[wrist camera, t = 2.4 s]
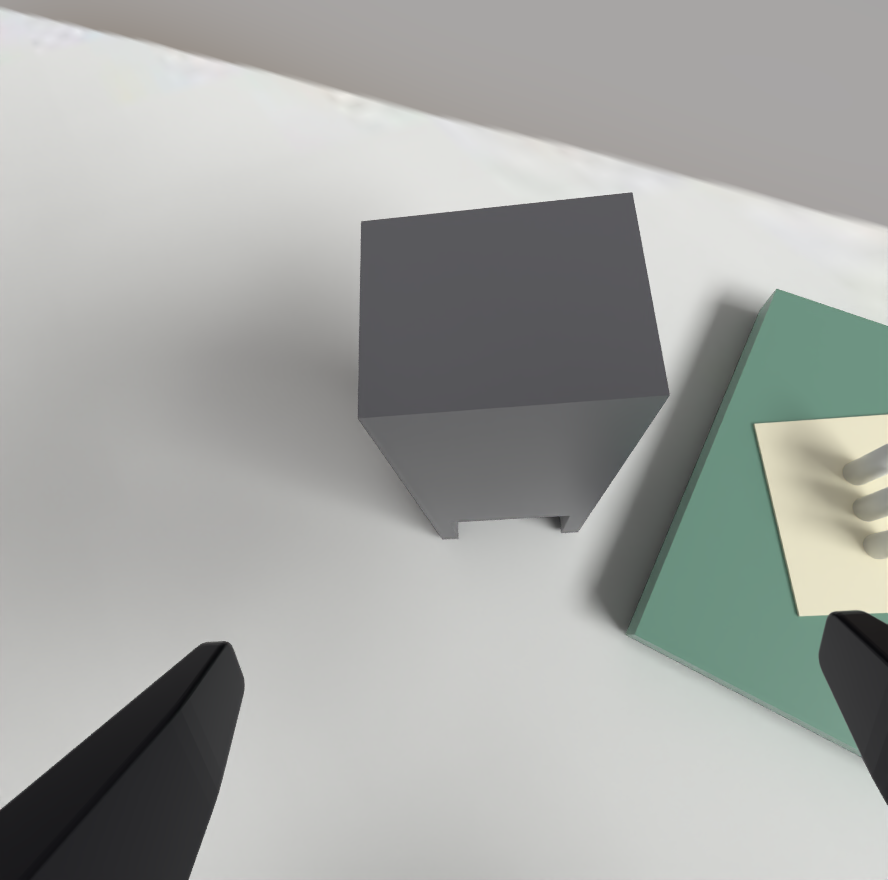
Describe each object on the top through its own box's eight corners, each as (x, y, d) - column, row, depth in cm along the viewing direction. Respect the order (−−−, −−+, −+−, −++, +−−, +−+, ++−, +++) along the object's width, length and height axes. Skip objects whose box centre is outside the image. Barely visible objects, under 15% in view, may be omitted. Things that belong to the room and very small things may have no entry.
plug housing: (577, 532, 21) (669, 395, 9) (442, 539, 21) (358, 418, 9) (566, 429, 22) (632, 192, 10) (438, 438, 22) (361, 221, 11)
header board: (945, 800, 17) (1070, 848, 13) (625, 634, 19) (653, 634, 15) (1042, 408, 20) (1164, 356, 16) (759, 310, 23) (809, 245, 19)
